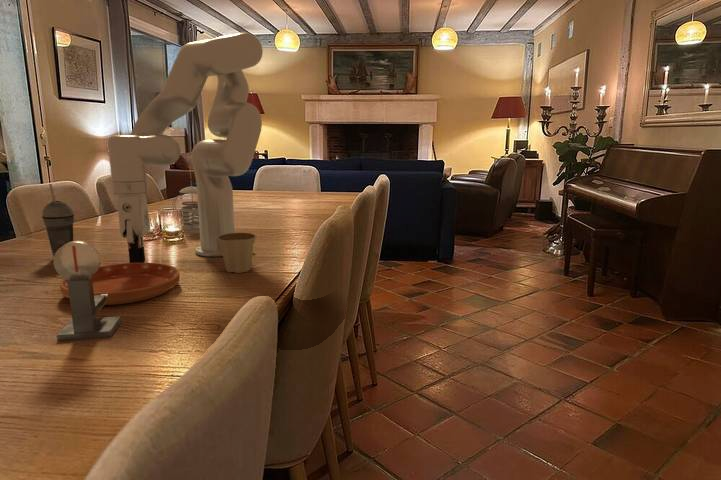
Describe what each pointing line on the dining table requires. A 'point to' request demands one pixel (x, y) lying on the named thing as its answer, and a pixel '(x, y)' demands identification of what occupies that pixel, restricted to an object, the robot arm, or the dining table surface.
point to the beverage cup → (58, 223)
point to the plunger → (104, 302)
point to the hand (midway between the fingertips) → (137, 262)
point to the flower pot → (237, 251)
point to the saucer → (131, 281)
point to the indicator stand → (82, 292)
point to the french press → (189, 210)
